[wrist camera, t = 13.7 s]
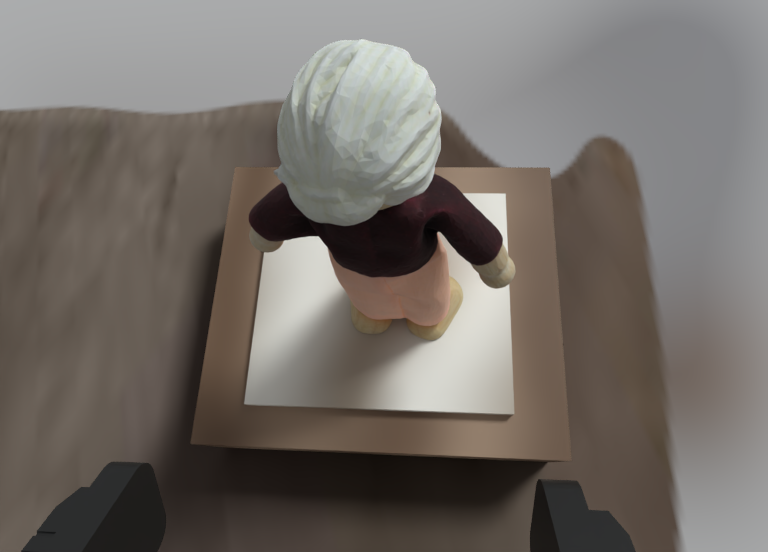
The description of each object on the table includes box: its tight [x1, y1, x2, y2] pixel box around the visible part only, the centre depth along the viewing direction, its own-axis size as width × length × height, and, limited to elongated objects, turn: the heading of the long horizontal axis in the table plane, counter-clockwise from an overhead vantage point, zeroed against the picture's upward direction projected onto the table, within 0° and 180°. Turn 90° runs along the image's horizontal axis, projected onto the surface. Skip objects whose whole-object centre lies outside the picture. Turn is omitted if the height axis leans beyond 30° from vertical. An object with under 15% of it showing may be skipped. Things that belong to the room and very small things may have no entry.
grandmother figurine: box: [249, 39, 516, 340], centre depth 15 cm, size 8×4×13 cm, turn 92°
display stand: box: [190, 167, 572, 462], centre depth 23 cm, size 14×12×4 cm
